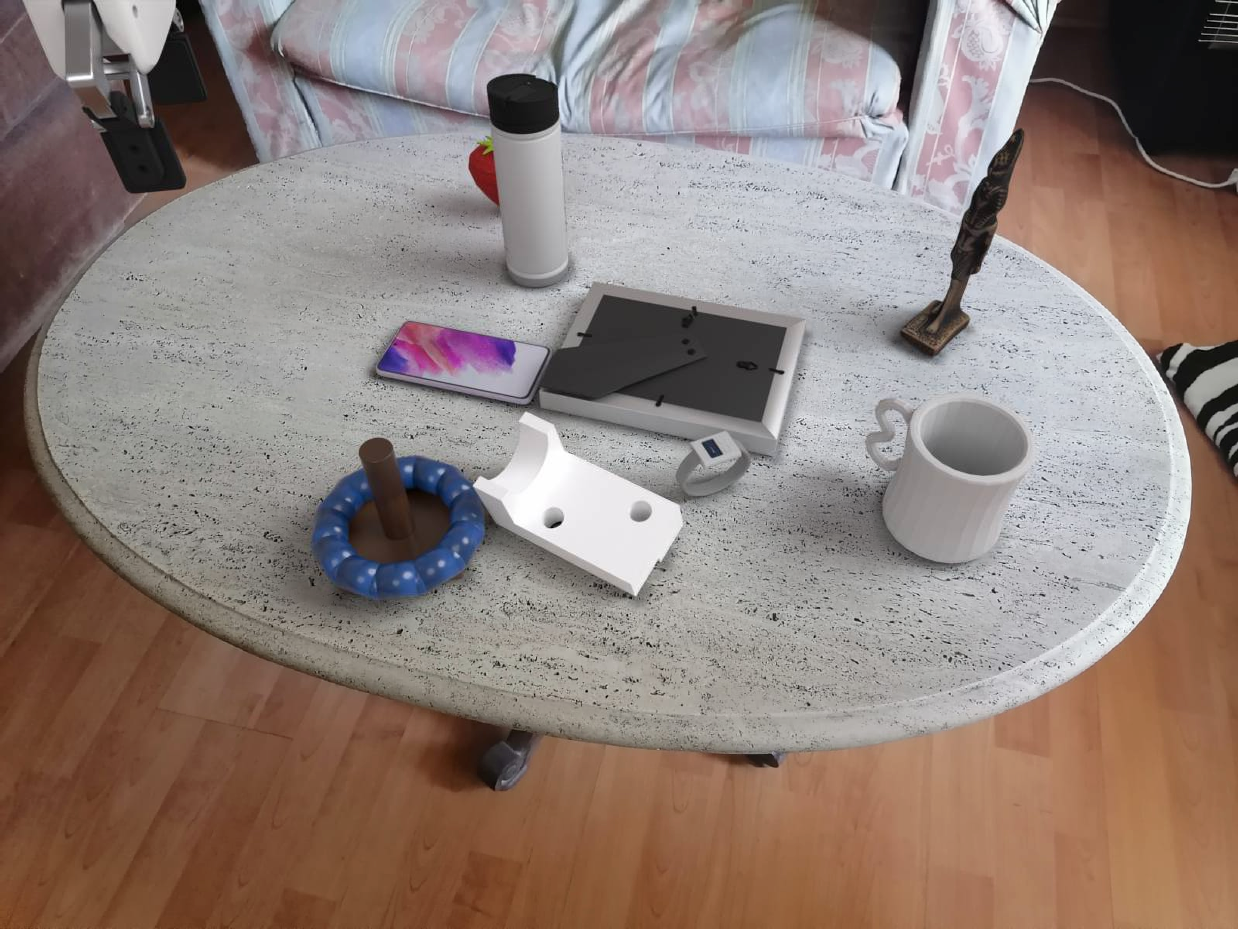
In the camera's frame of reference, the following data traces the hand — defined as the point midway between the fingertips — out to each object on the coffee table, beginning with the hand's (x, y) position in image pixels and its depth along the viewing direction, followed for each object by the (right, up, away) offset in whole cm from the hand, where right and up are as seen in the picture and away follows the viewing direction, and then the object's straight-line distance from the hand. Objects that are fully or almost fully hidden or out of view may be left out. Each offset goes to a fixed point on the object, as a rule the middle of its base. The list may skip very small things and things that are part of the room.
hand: (171, 142), depth 56 cm
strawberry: (+14, +9, +48) cm, 51 cm away
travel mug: (+18, +1, +41) cm, 45 cm away
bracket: (+24, -25, +19) cm, 39 cm away
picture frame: (+32, -11, +31) cm, 45 cm away
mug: (+51, -23, +20) cm, 59 cm away
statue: (+56, -7, +34) cm, 66 cm away
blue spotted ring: (+10, -23, +16) cm, 30 cm away
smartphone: (+12, -10, +31) cm, 35 cm away
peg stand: (+9, -25, +19) cm, 32 cm away
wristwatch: (+34, -21, +22) cm, 45 cm away
